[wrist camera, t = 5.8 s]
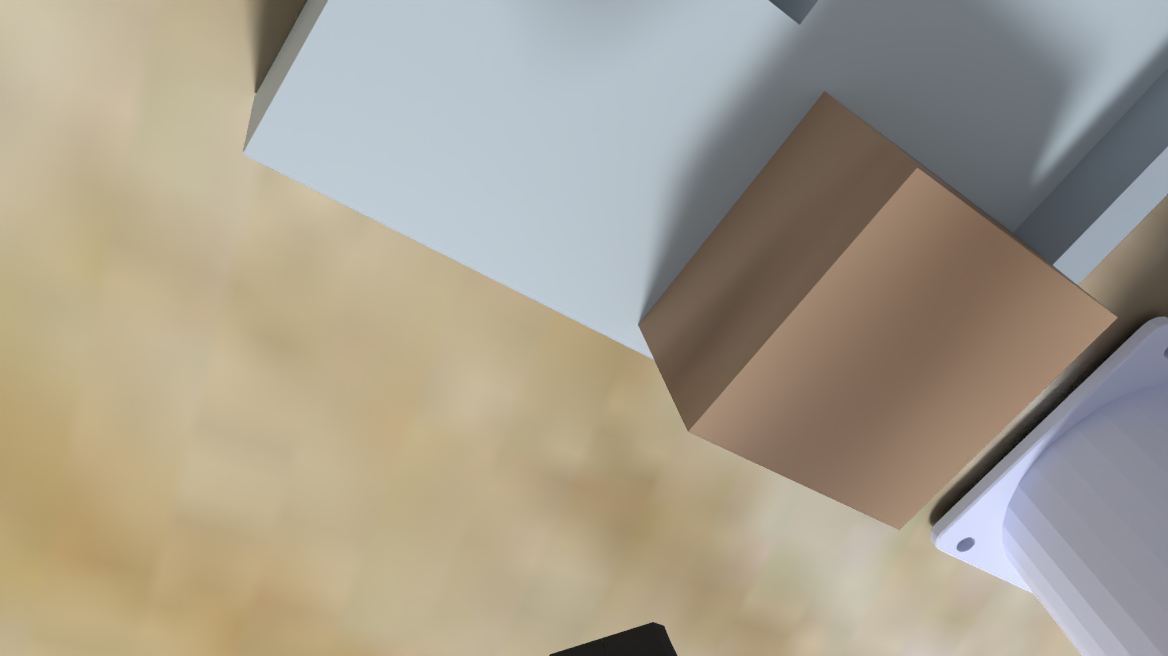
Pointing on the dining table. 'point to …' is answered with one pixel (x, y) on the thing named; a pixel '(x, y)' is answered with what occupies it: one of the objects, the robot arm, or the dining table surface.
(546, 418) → the dining table surface
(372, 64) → the trap tray
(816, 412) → the walnut block
